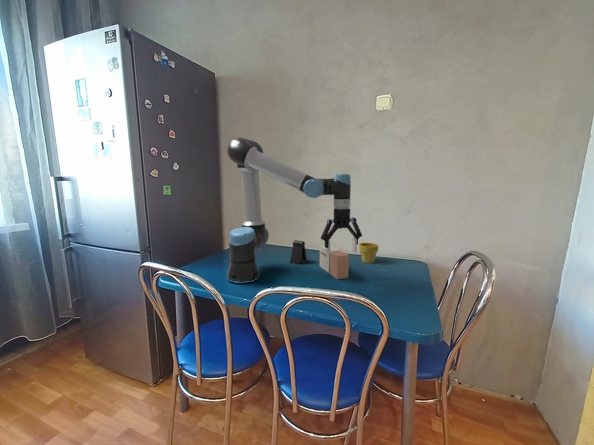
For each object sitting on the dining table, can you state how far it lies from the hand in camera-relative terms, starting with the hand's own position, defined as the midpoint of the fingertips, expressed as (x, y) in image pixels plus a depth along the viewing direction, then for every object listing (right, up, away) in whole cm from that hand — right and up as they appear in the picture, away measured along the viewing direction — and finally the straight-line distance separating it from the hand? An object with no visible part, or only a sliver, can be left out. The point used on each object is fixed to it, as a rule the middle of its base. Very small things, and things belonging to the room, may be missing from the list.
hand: (341, 253), depth 133 cm
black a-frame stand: (-20, -8, +26) cm, 34 cm away
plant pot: (+19, -8, +26) cm, 33 cm away
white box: (-4, -10, +13) cm, 17 cm away
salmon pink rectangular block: (-1, -11, +4) cm, 12 cm away
